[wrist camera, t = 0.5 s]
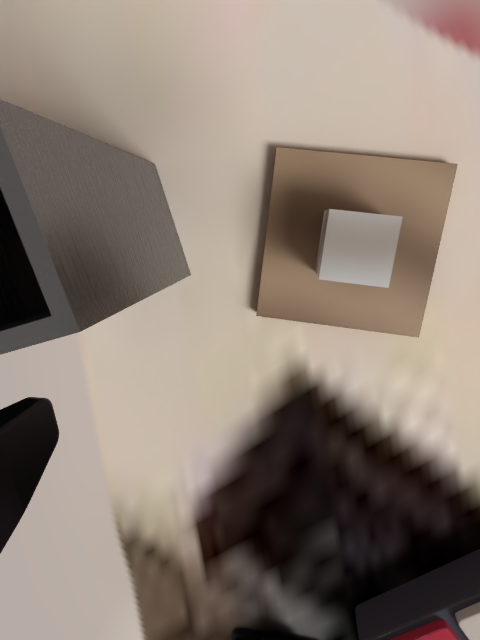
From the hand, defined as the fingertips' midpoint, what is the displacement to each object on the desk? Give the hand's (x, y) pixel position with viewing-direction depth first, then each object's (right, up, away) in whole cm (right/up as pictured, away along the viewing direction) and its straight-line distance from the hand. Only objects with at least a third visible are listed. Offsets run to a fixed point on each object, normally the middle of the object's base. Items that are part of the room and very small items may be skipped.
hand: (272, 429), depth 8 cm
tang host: (+5, +6, +14) cm, 16 cm away
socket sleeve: (-7, +7, +14) cm, 17 cm away
